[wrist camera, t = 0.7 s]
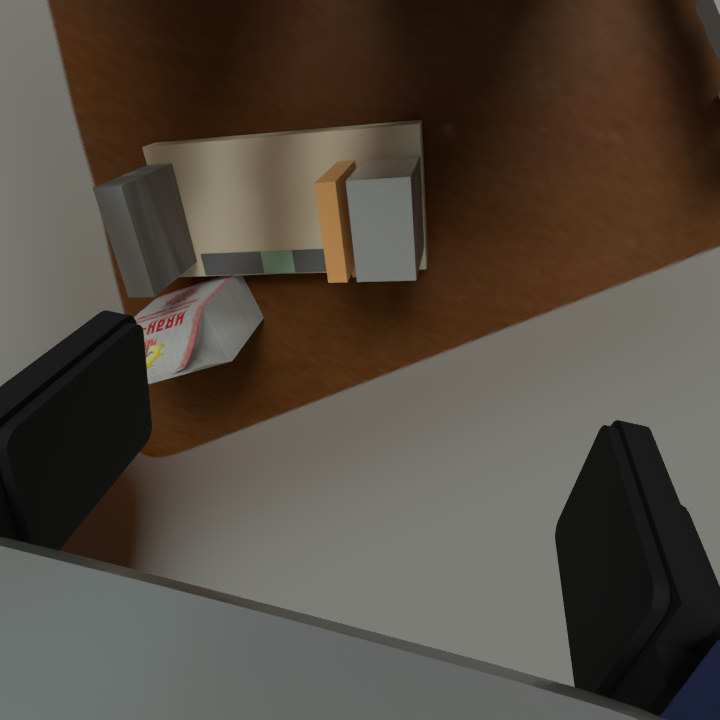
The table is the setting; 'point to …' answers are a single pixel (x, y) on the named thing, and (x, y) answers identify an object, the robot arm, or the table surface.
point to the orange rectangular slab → (336, 221)
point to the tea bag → (198, 326)
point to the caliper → (710, 22)
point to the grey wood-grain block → (386, 218)
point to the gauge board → (236, 202)
